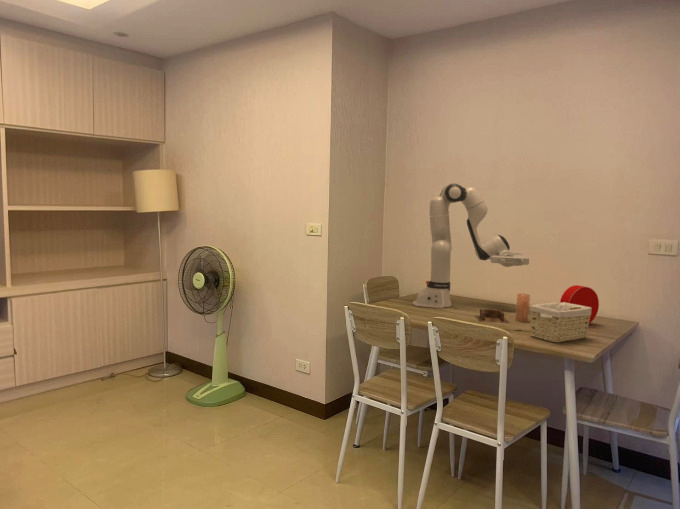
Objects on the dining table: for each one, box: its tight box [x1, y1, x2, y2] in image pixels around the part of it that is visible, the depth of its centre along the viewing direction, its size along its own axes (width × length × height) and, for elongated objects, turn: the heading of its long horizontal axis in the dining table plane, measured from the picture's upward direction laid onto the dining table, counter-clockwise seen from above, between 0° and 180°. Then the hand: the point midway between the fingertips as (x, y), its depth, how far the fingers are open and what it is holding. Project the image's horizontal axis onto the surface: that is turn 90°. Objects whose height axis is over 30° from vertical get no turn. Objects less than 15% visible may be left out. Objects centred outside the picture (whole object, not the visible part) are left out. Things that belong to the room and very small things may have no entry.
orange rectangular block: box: [515, 293, 531, 323], centre depth 264 cm, size 6×8×14 cm
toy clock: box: [559, 284, 600, 325], centre depth 263 cm, size 20×6×20 cm, turn 111°
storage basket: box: [530, 301, 592, 343], centre depth 237 cm, size 24×16×15 cm
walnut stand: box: [474, 308, 511, 324], centre depth 267 cm, size 15×15×5 cm
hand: (512, 261), depth 281 cm, fingers open, 8 cm apart
